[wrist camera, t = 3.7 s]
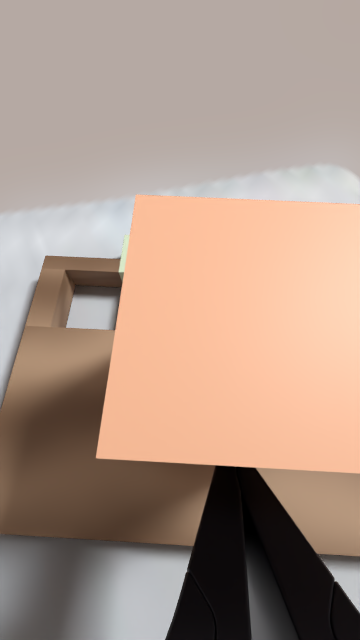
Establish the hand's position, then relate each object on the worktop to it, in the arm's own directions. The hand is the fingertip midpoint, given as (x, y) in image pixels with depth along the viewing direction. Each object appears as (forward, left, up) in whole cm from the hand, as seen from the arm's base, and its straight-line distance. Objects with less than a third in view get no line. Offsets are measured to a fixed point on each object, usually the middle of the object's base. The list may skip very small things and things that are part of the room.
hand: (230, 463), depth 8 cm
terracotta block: (+3, +2, -6) cm, 7 cm away
